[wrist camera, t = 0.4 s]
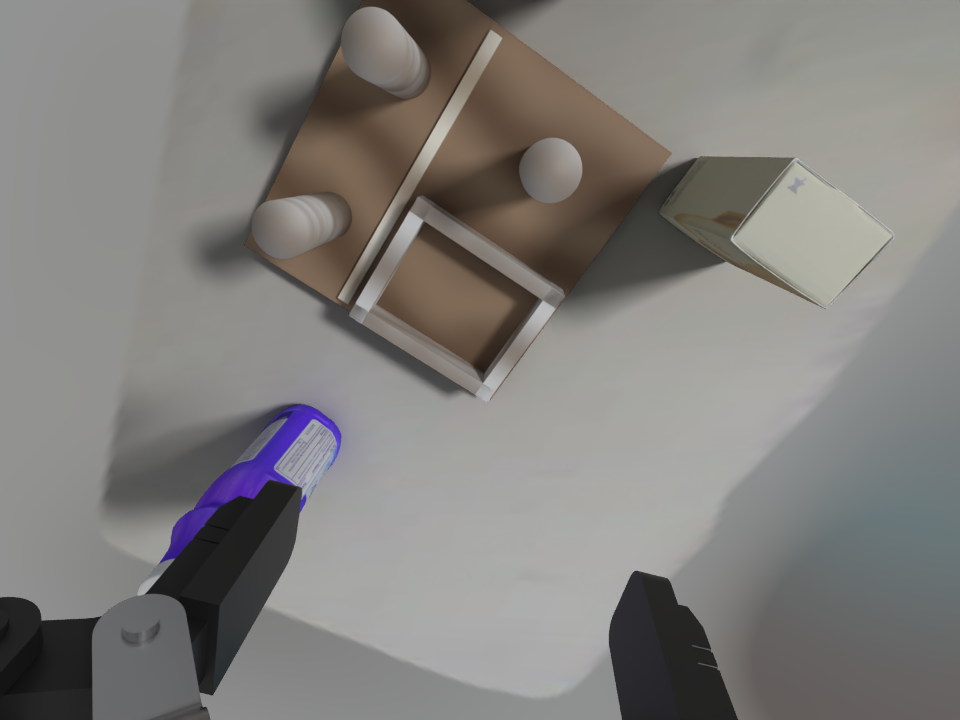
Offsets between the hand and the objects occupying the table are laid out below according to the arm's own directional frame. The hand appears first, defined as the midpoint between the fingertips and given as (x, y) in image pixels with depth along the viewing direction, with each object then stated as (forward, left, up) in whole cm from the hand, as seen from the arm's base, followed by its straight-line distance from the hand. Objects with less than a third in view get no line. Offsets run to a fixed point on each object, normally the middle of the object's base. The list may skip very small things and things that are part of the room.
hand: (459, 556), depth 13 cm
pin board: (-3, -6, -27) cm, 28 cm away
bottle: (+19, -6, -27) cm, 34 cm away
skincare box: (-12, +9, -27) cm, 31 cm away
